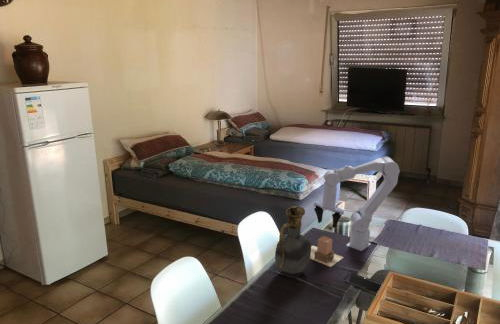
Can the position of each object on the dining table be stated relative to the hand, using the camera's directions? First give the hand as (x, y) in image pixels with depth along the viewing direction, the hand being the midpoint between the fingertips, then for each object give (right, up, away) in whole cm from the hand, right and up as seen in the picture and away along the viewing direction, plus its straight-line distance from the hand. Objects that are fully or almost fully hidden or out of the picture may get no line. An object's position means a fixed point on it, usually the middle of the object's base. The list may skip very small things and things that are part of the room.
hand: (327, 224), depth 185 cm
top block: (-3, -10, -11) cm, 15 cm away
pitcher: (-19, -17, -22) cm, 34 cm away
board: (-4, -13, -8) cm, 16 cm away
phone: (+9, -20, -28) cm, 35 cm away
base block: (-3, -13, -10) cm, 17 cm away
